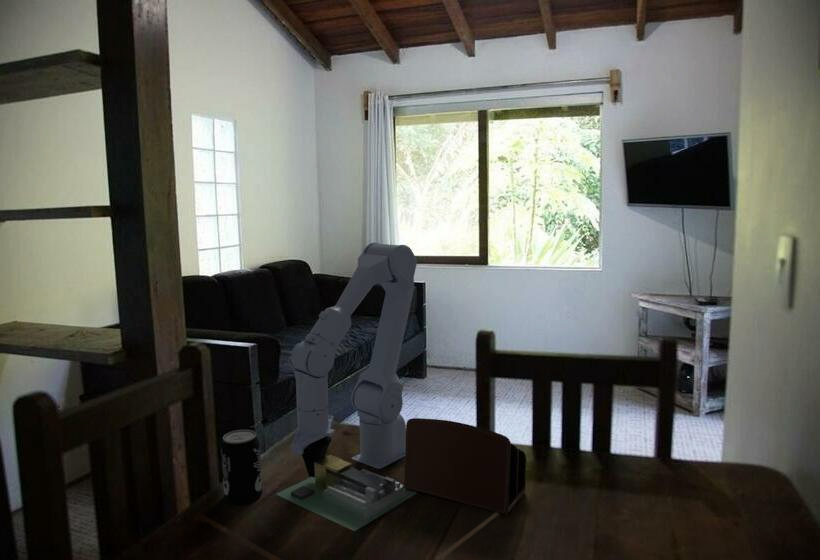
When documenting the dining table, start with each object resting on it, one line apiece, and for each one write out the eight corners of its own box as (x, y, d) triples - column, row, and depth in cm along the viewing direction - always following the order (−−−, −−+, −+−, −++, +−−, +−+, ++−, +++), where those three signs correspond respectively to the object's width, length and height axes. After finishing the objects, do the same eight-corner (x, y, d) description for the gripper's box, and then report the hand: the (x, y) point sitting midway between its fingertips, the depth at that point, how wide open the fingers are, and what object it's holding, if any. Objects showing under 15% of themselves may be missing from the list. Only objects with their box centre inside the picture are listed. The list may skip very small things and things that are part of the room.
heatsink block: (363, 482, 116) (362, 460, 115) (404, 498, 110) (404, 475, 109) (323, 503, 109) (322, 479, 108) (365, 522, 102) (364, 497, 102)
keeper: (331, 480, 117) (330, 454, 117) (353, 489, 114) (352, 463, 113) (315, 488, 114) (314, 462, 114) (337, 497, 111) (336, 470, 110)
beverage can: (252, 510, 108) (248, 444, 106) (217, 506, 109) (213, 441, 108) (268, 492, 114) (264, 429, 113) (235, 489, 116) (231, 427, 114)
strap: (339, 467, 115) (339, 462, 114) (388, 487, 107) (388, 482, 107) (327, 473, 112) (327, 467, 112) (376, 494, 105) (376, 488, 104)
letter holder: (507, 516, 104) (509, 434, 102) (403, 489, 113) (403, 414, 111) (526, 492, 112) (528, 416, 111) (427, 470, 122) (429, 399, 120)
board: (339, 466, 124) (339, 460, 124) (417, 496, 112) (417, 489, 112) (275, 497, 112) (275, 491, 112) (354, 534, 100) (354, 527, 99)
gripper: (315, 422, 107) (318, 497, 109) (347, 395, 120) (349, 462, 122) (278, 418, 109) (281, 491, 111) (314, 392, 122) (316, 458, 124)
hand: (314, 476), depth 117 cm, fingers closed
